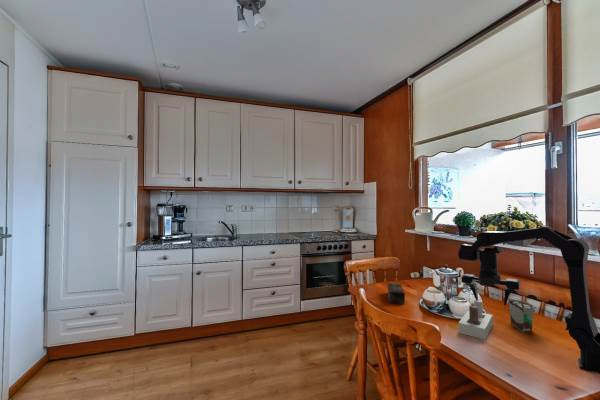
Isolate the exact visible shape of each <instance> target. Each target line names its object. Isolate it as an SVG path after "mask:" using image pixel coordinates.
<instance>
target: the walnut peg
mask: <svg viewBox="0 0 600 400" xmlns="http://www.w3.org/2000/svg"><path fill="white" fill-rule="evenodd" d="M468 308H469V309H468V310H469V317H470V323H471V324H475V325H478V307H476V306H474V305H469V306H468Z"/></svg>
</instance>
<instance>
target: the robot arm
mask: <svg viewBox="0 0 600 400" xmlns="http://www.w3.org/2000/svg"><path fill="white" fill-rule="evenodd" d="M535 239H536V240H537V239H543V240H545V241H547V243H549V244H550V245H552V247H553V246H554V247H555V248H557V249H559V250H560V252H561V255H562V259H563V261H564V263H565V265H566V266H567V271H568V280H569V281H568V282H569V289H570V291H569V292H570V301H571V312H569V313H568V314H567V315H566V316H565V317H564V320H565V324H566V328H565V331H568V334H569V336H570V337H571V338H572V339H573V340H574V341H575V343H576V345H577V347H578V349H579V355H580V356H579V357H580V358H578V359H577V360H578V367H579V368H580V369H583V370H587V371H590V372H592V373H593V372H594V373H598V374H600V331H599V329H598V327H597V324H596V320H595V319H594V317H593V315H592V312H591V309H590V308H591V305H590V300H589V299H590V298H589V288H588V287H589V286H588V279H587V267H586V266H587V263H588V259H589V251H590V245H589V244H588V243H587V242H586V241H585V240H583V239H580V238H574V237H572V236H569V235H568V234H565V233H563V232H561V231H559V230H556V229H555V228H553V227H552V226H548V225H547V226H546V225H545V226H541V227H536V228H535V227H534V228H527V229H519V230H513V231H512V230H510V231H497V230H495V231H491V230H489V231H482V232H480V233H479V232H478V234H477V235H476V240H475V241H474V242H473V243H472V245H471V244H466V243H461V244H460V247H459V249H458V252H457V256H458V259H459V260H461V261H465V262H475V263H476V262H477V261H478V260H479V266H480V267H479V269H480V270H479V272H478V276H476V275H475V274H473V273H472V274H471V273H463V275H462V276H461V283H463V284H465V285H466V286H468V287H469V288H470V291H471V292H472V295H473V296H474V298H475V300H476V301H478V300H479V293H478V287H477V286H478V285H477V283H478V284H479V285H480V286H483V287H484V286H487V287H490V288H491V287H495V285H499V286H505V289H504V297H503V299H504V300H503V305H504V306H506V307H507V304H508V303H507V302H508V300H509V298H510V295H511V292H516V290H517V291H520V289H521V281H520V280H519V279H517V278H506V279H502V277H501V273H499V271H498V254H502V253H504V250H503V249H501V248H500V247H499V246H498V245H500V244H502V243H508V242H515V241H524V240H526V241H527V240H535ZM496 245H497V246H496ZM492 246H494V247H492ZM481 248H482V249H481ZM483 248H484V249H483Z"/></svg>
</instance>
